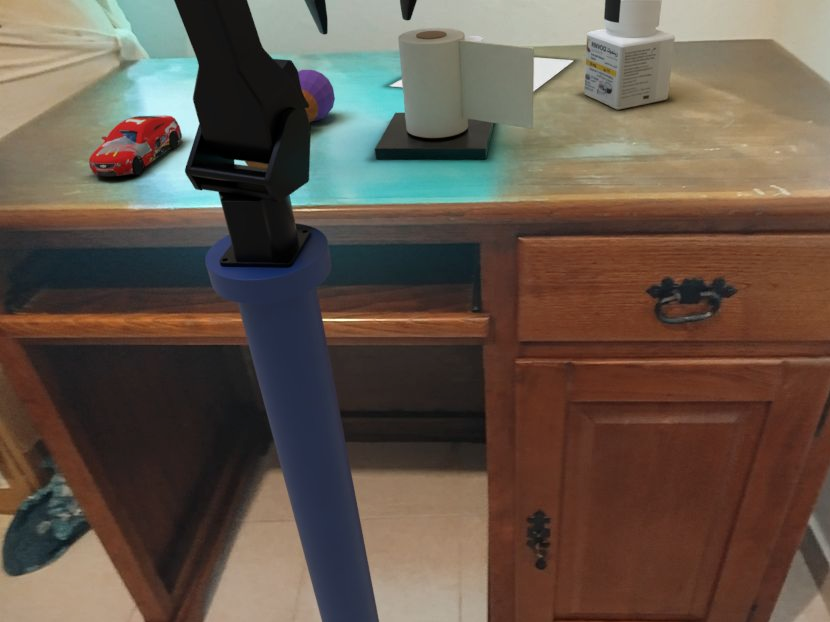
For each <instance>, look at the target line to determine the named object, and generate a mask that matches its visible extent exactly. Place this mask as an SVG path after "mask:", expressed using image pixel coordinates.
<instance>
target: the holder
mask: <svg viewBox="0 0 830 622" xmlns="http://www.w3.org/2000/svg"><path fill="white" fill-rule="evenodd" d="M392 116H393V117H391V119H390V121H389V122H388V124H387V127H386V128H385V130H384V132H383V133H382V135H381V137H380V139H379V140H378V142H377V144H376V146H374V147H375V148H374V155H375V159H376V160H486V159H487V156H488V152H489V147H490V143H491V142H490V141H491V138H492V133H493V129H494V124H495V123H492V122H486V121H479V120H473V119H468V128H467V129H466V130H465V131H464V132H462V133H460V134H457V135H454V136H449V137H443V138H423V137H417V136H414V135H411V134H410V133H408V132H407V130H406V120H405V112H395V113H394V114H393V115H392Z"/></svg>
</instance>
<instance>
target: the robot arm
mask: <svg viewBox="0 0 830 622" xmlns="http://www.w3.org/2000/svg"><path fill="white" fill-rule="evenodd" d="M173 1H174V4H175V6H176V9H177V12H178V14H179V16H180V19H181V22H182V24H183V27H184V29H185V32H186V34H187V37H188V40H189V42H190V44H191V47H192V50H193V53H194V55H195V57H196V62H197V65H198V67H197V72H196V79H195V82H194V83H195V84H194V89H193V95H192V102H193V105H194V110H195V113H196V116H197V121H198V127H197V129H196V133H195V137H194V139H193V141H192V142H193V143H192V146H191V149H190V152H189V155H188V158H187V162H186V164H185V167H184V173H185V175H186V177H187V179H188V180H189V181H190V183H191V185H192V187H193V188H194V189H195V191H196V190H197V191H208V192H209V191H210V192H216V193H218V196H219V200H220V204H221V209H222V213H223V216H224V220H225V224H226V227H227V228H226V229H227V232H228V235H229V236H230V240H231V243H232V244H231V246H230V247H229V248H228V250H227V251H226V252H225V253H224V255H223V256H222V257H221V259H220V260H219V262H220V265H221V266H222V267H263V268H289V267H292V266H293V265H294V263H295V261H296V260H297V258H298V256H299V255H300V253H301V251H302V250H303V248H304V246H305V245H306V243H307V241H308V240H309V238H310V237H311V231H310V230H309V229H296V225H295V223H296V221H295V220H296V219H295V215H294V210H293V205H292V201H291V195H292V194H293V193H294V192H296V191H298V190H299V189H301V188H302V187H303V186H305V185H306V184H307V183H308V182H309V181H310V169H311V168H310V165H311V136H312V135H311V134H312V133H311V131H312V130H311V122H309V119H308V115H307V112H306V109H305V108H309V103H308V102H307V100H306V99H305V97H304V95H303V92H302V89H301V85H300V80H299V74H298V71H299V70H298V68H297V67H296V65H295V63H294V61H292V60H290V59H284V58H283V59H281V58H273V57H272V56H271V55H270V54H269V53H268V51H266V50H265V48H264V47H263V45H262V41H261V39H260V36H259V33H258V30H257V26H256V23H255V21H254V17H253V14H252V11H251V8H250V5H249V2H248V0H173ZM304 2H305V5H306V7H307V9H308V11H309V13H310V16H311V17H312V20H313V21H314V24H315V25H316V28H317V30H318V32H319V33H320V34H321V35H324V36H325V35H328V28H329V27H328V26H329V25H328V23H329V22H328V21H329V20H328V11H327V3H326V0H304ZM417 2H418V0H399V4H400V11H401V19H403V20H404V21H411V19H412V16H413V13H414V11H415V7H416V5H417ZM235 161H239V162H240V161H241V162H245V161H247V162H255V163H262V164H269V165H268V168H260V167H252V166H248V165H244V164H238V163H237V164H236V163H235Z"/></svg>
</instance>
